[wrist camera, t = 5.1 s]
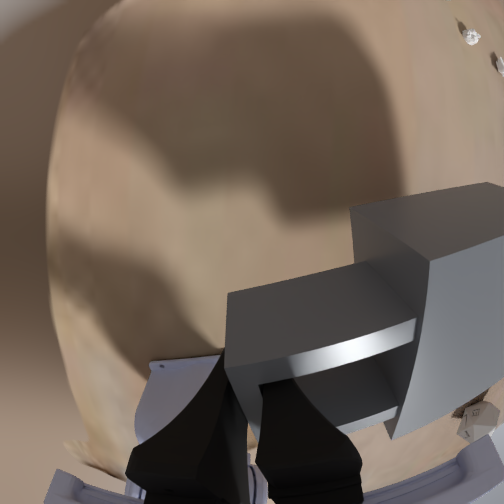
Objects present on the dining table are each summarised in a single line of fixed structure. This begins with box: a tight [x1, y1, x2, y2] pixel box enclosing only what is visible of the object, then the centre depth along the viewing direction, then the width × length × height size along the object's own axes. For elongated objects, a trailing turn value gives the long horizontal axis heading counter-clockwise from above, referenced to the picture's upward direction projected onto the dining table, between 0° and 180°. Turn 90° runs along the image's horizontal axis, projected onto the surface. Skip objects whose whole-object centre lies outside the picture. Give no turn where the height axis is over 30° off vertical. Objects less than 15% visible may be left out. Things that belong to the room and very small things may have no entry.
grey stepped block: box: [224, 182, 504, 442], centre depth 11 cm, size 16×10×6 cm, turn 103°
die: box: [457, 400, 500, 443], centre depth 28 cm, size 8×9×10 cm
